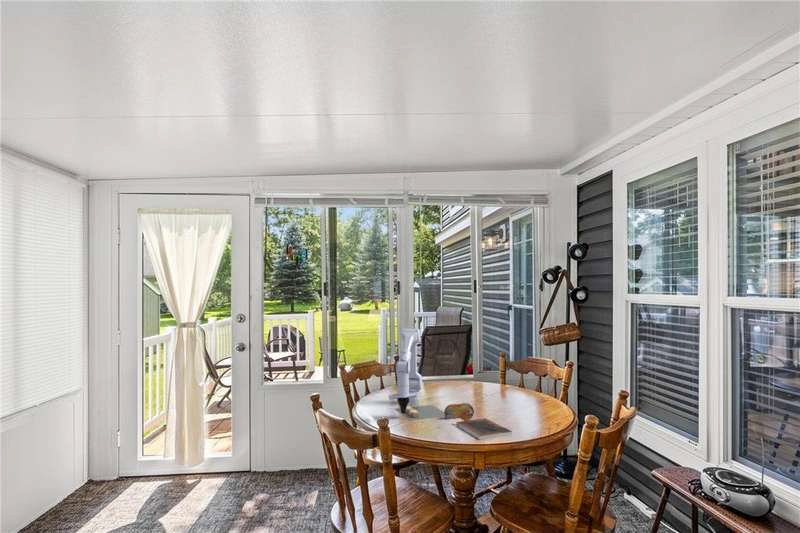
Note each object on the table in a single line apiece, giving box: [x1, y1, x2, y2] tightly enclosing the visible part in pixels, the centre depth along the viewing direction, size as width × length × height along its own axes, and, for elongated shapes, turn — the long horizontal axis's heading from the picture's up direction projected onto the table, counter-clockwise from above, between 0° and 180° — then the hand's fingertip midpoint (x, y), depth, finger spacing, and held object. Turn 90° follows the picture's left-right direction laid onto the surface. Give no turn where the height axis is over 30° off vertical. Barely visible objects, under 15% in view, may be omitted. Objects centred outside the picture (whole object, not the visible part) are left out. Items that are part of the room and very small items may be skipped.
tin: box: [443, 402, 475, 421], centre depth 221 cm, size 15×3×8 cm, turn 105°
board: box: [394, 404, 446, 421], centre depth 230 cm, size 22×22×2 cm
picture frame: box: [455, 417, 513, 440], centre depth 206 cm, size 16×2×22 cm
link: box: [406, 405, 419, 417], centre depth 229 cm, size 17×4×3 cm, turn 19°
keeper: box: [413, 400, 420, 409], centre depth 235 cm, size 10×2×4 cm, turn 175°
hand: (403, 413), depth 221 cm, fingers closed
